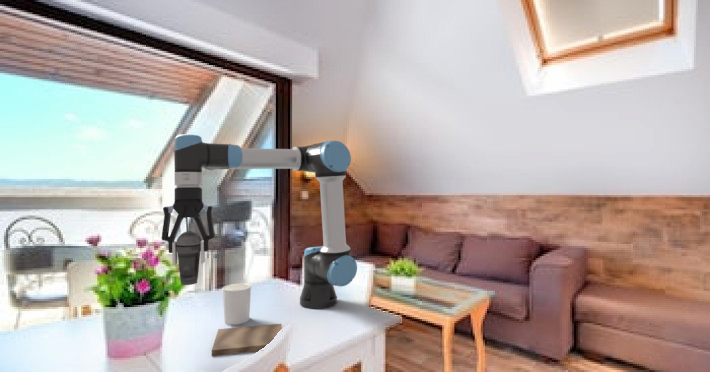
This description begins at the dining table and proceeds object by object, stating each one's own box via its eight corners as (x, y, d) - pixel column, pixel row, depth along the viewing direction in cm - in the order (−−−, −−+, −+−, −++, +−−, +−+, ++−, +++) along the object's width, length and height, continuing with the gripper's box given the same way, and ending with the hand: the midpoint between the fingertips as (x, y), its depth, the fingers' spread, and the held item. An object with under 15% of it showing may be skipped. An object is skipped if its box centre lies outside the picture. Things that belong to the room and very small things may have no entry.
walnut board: (281, 328, 124) (281, 323, 124) (283, 348, 109) (283, 343, 109) (218, 333, 119) (218, 329, 119) (211, 355, 104) (211, 350, 104)
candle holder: (242, 326, 125) (242, 291, 125) (216, 324, 127) (216, 289, 127) (256, 316, 135) (256, 284, 135) (231, 315, 137) (231, 282, 137)
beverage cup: (185, 287, 106) (184, 218, 106) (170, 284, 110) (170, 217, 110) (207, 282, 112) (207, 216, 112) (192, 278, 116) (192, 215, 116)
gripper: (147, 186, 105) (148, 267, 105) (222, 186, 110) (222, 263, 110) (155, 186, 112) (156, 262, 112) (224, 186, 117) (225, 258, 117)
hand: (189, 262), depth 111 cm, fingers closed on beverage cup, 7 cm apart
